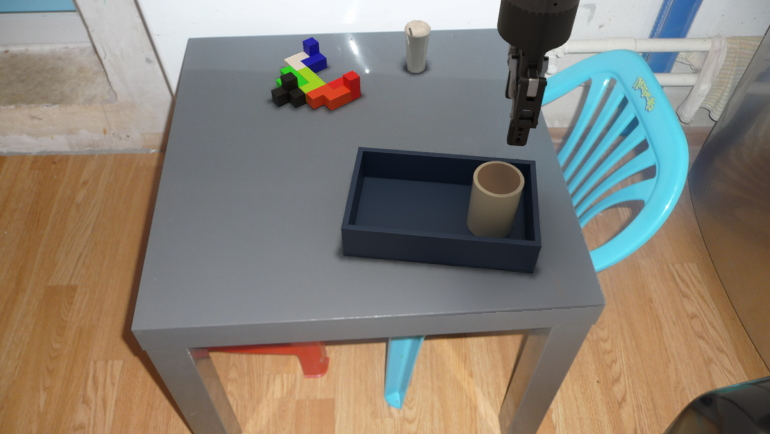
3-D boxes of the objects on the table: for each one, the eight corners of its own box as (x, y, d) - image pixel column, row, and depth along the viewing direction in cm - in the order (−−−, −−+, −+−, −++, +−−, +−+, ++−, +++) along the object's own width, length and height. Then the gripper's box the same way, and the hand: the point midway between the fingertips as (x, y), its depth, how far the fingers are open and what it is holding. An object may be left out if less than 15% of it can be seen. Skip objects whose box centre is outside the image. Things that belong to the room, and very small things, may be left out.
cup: (522, 223, 83) (534, 178, 76) (492, 248, 80) (502, 205, 73) (486, 198, 86) (495, 153, 79) (456, 221, 83) (463, 177, 77)
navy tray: (528, 188, 88) (535, 160, 84) (533, 272, 78) (541, 246, 74) (359, 174, 90) (358, 146, 86) (343, 255, 80) (340, 228, 76)
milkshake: (396, 73, 107) (397, 24, 99) (410, 58, 110) (412, 9, 102) (419, 81, 105) (421, 31, 98) (432, 65, 108) (435, 16, 101)
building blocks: (254, 82, 105) (249, 62, 102) (314, 56, 110) (312, 36, 107) (298, 126, 98) (295, 105, 94) (361, 96, 103) (360, 75, 99)
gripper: (589, 32, 52) (551, 163, 64) (574, -43, 61) (543, 85, 74) (504, 27, 53) (482, 158, 65) (501, -46, 62) (482, 81, 74)
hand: (514, 119), depth 69 cm, fingers open, 8 cm apart
